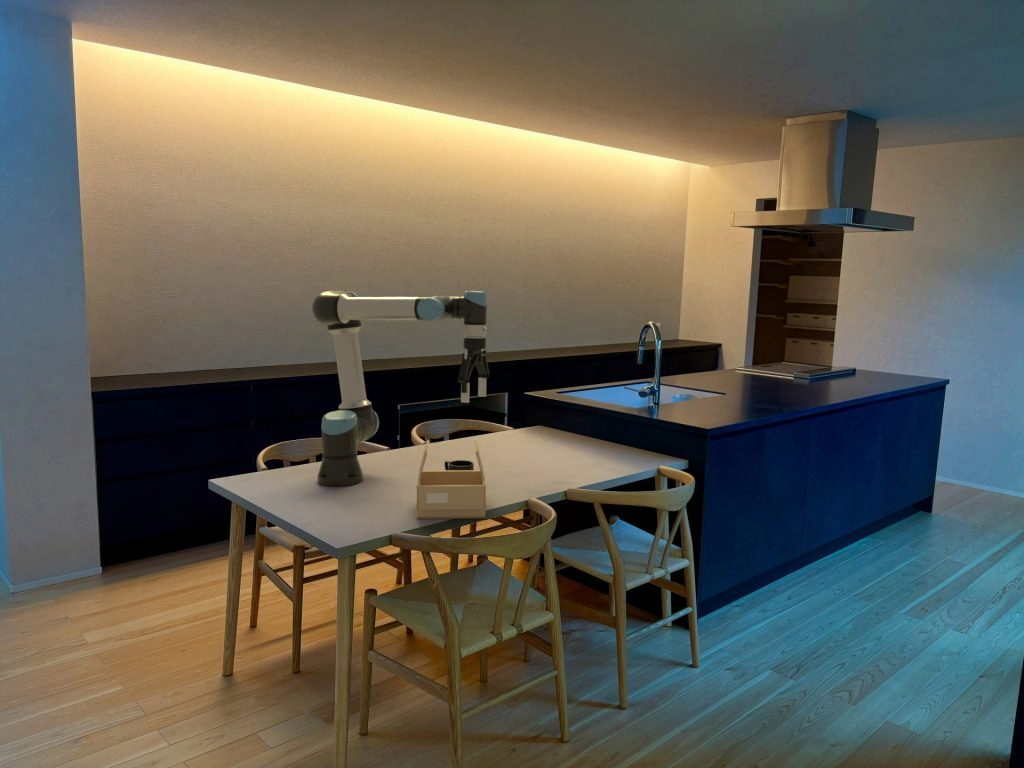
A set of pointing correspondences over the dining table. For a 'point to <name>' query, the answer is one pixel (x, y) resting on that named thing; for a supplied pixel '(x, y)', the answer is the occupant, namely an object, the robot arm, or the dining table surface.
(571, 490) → the dining table surface
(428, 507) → the carton
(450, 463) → the mug
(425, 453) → the flap left
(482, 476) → the flap right
